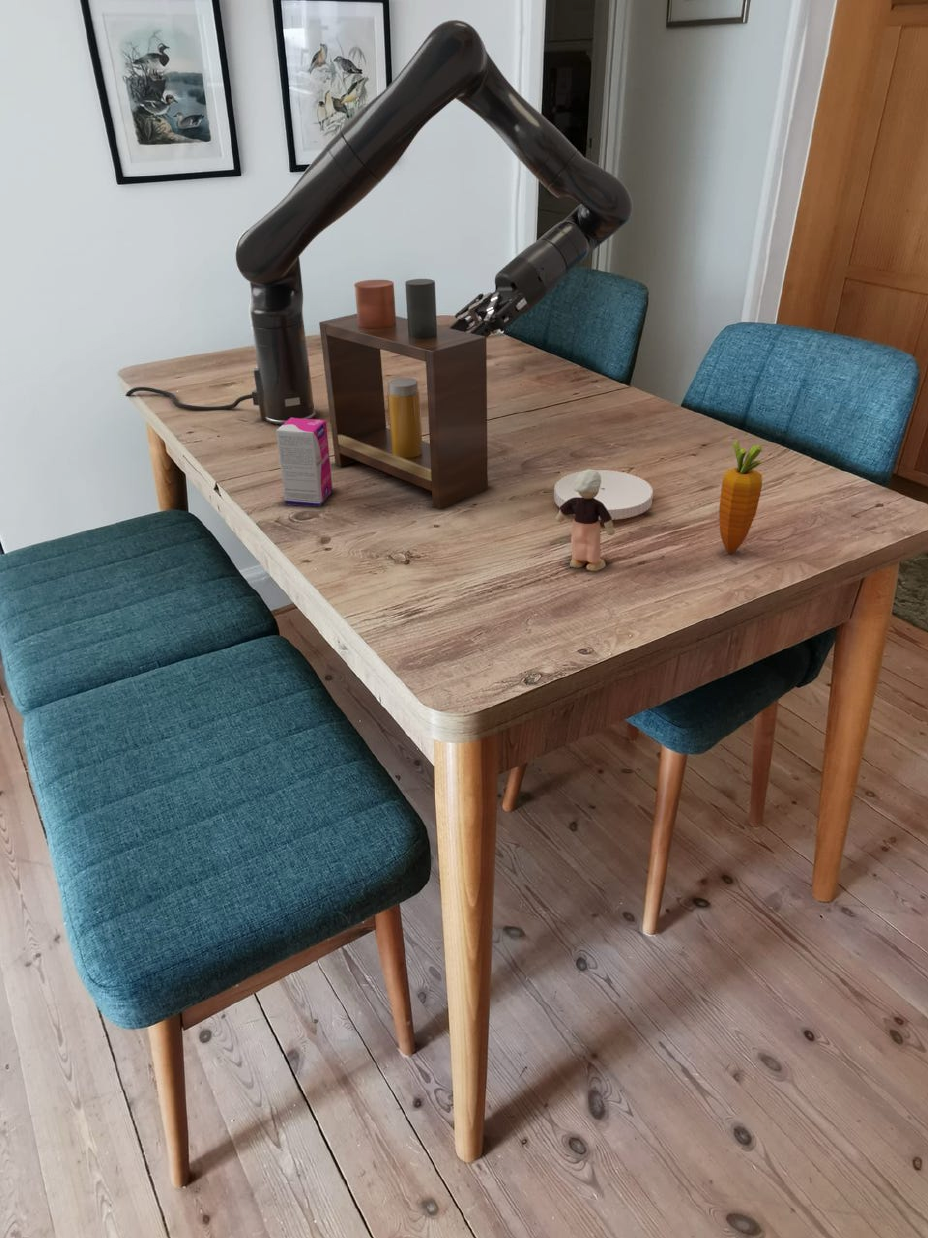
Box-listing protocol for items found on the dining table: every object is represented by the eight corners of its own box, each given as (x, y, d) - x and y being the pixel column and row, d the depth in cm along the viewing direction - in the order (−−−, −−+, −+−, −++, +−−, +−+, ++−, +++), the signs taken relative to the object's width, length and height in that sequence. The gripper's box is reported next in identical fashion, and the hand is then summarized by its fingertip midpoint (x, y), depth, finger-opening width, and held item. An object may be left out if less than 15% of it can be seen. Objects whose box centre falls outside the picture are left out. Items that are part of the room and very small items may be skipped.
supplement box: (322, 507, 122) (312, 432, 116) (284, 504, 123) (272, 430, 117) (334, 491, 127) (326, 418, 121) (298, 488, 128) (288, 416, 122)
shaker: (385, 452, 129) (379, 382, 123) (408, 444, 132) (404, 375, 126) (405, 460, 126) (401, 388, 120) (429, 451, 129) (425, 381, 123)
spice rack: (335, 464, 136) (313, 271, 120) (382, 448, 142) (367, 261, 126) (440, 509, 121) (430, 295, 105) (488, 488, 126) (486, 282, 110)
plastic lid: (551, 485, 127) (551, 470, 125) (643, 485, 126) (644, 469, 125) (556, 526, 115) (557, 510, 114) (658, 526, 114) (660, 509, 113)
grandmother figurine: (615, 560, 106) (623, 467, 100) (610, 574, 103) (617, 480, 97) (557, 552, 109) (560, 461, 102) (550, 566, 106) (553, 473, 99)
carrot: (705, 545, 109) (721, 436, 101) (741, 543, 110) (761, 434, 102) (717, 563, 105) (735, 451, 97) (756, 561, 105) (777, 448, 97)
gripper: (497, 257, 135) (424, 320, 133) (543, 253, 123) (464, 322, 121) (519, 297, 139) (449, 359, 137) (566, 296, 127) (490, 364, 125)
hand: (456, 341), depth 129 cm, fingers open, 8 cm apart
